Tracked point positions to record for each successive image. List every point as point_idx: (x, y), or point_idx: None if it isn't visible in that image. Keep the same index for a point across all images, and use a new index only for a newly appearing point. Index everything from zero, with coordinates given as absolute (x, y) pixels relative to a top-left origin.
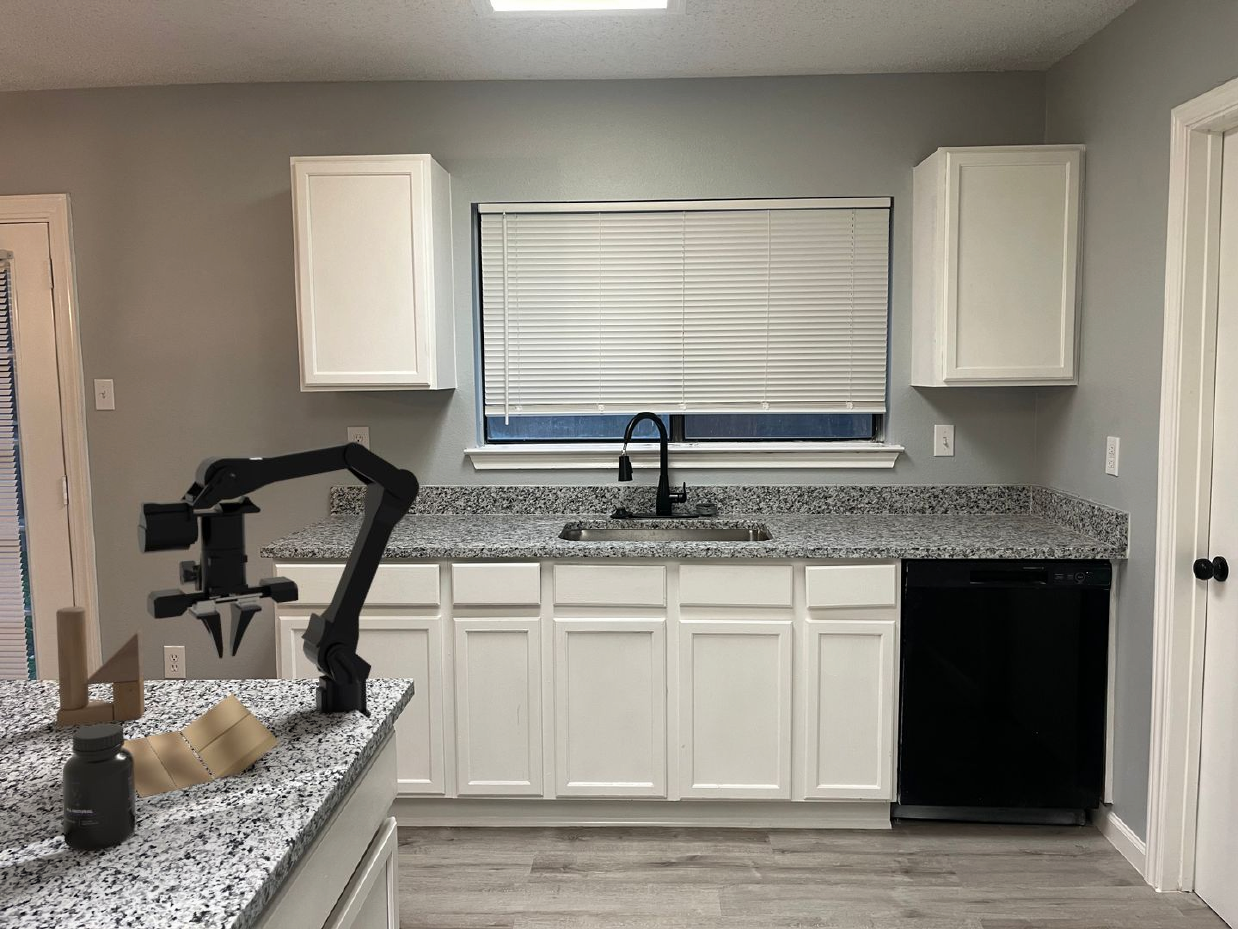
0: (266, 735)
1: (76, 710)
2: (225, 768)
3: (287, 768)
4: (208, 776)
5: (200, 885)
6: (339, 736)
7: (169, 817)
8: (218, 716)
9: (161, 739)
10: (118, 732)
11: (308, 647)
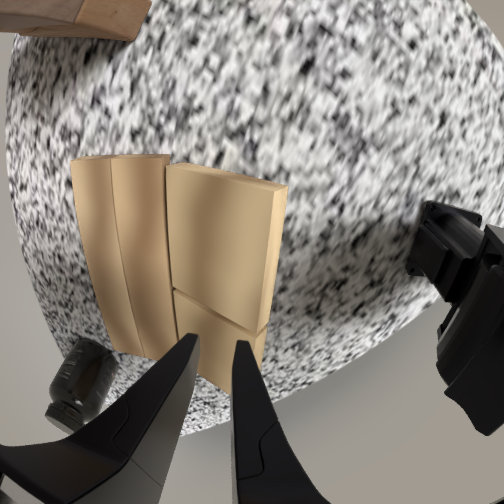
0: None
1: (33, 32)
2: None
3: (273, 354)
4: None
5: None
6: (383, 311)
7: (142, 364)
8: (219, 242)
9: (130, 189)
10: None
11: (481, 322)
